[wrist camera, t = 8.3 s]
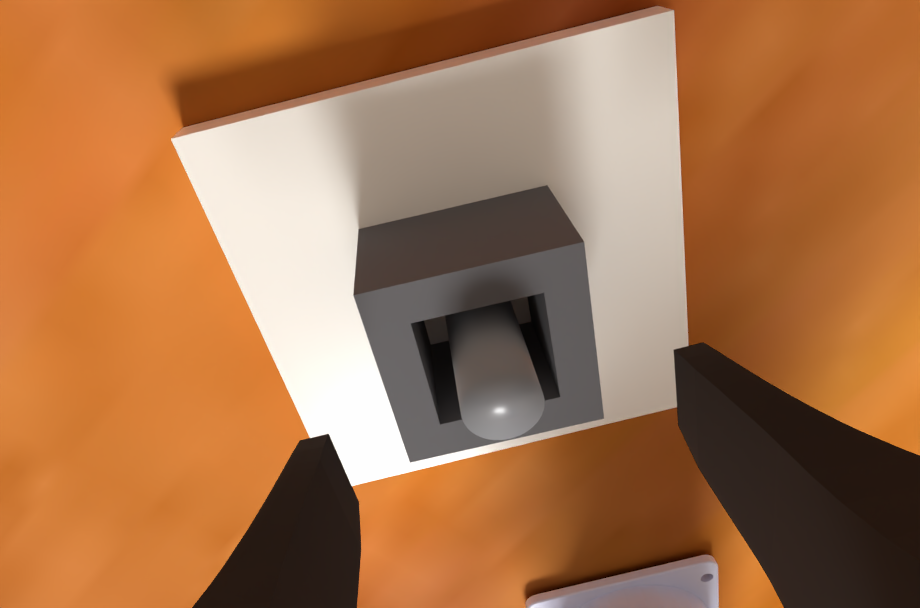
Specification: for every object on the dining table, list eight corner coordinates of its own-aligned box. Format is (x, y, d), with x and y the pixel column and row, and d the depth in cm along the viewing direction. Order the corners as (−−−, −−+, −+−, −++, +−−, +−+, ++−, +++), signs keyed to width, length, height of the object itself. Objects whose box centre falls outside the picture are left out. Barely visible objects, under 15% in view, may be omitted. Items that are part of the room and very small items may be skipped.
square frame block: (569, 341, 19) (604, 418, 16) (405, 379, 19) (409, 462, 16) (547, 185, 16) (584, 241, 13) (358, 228, 17) (353, 295, 14)
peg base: (678, 384, 22) (771, 526, 16) (336, 468, 22) (322, 633, 17) (657, 6, 16) (794, 43, 10) (182, 127, 16) (85, 222, 11)
